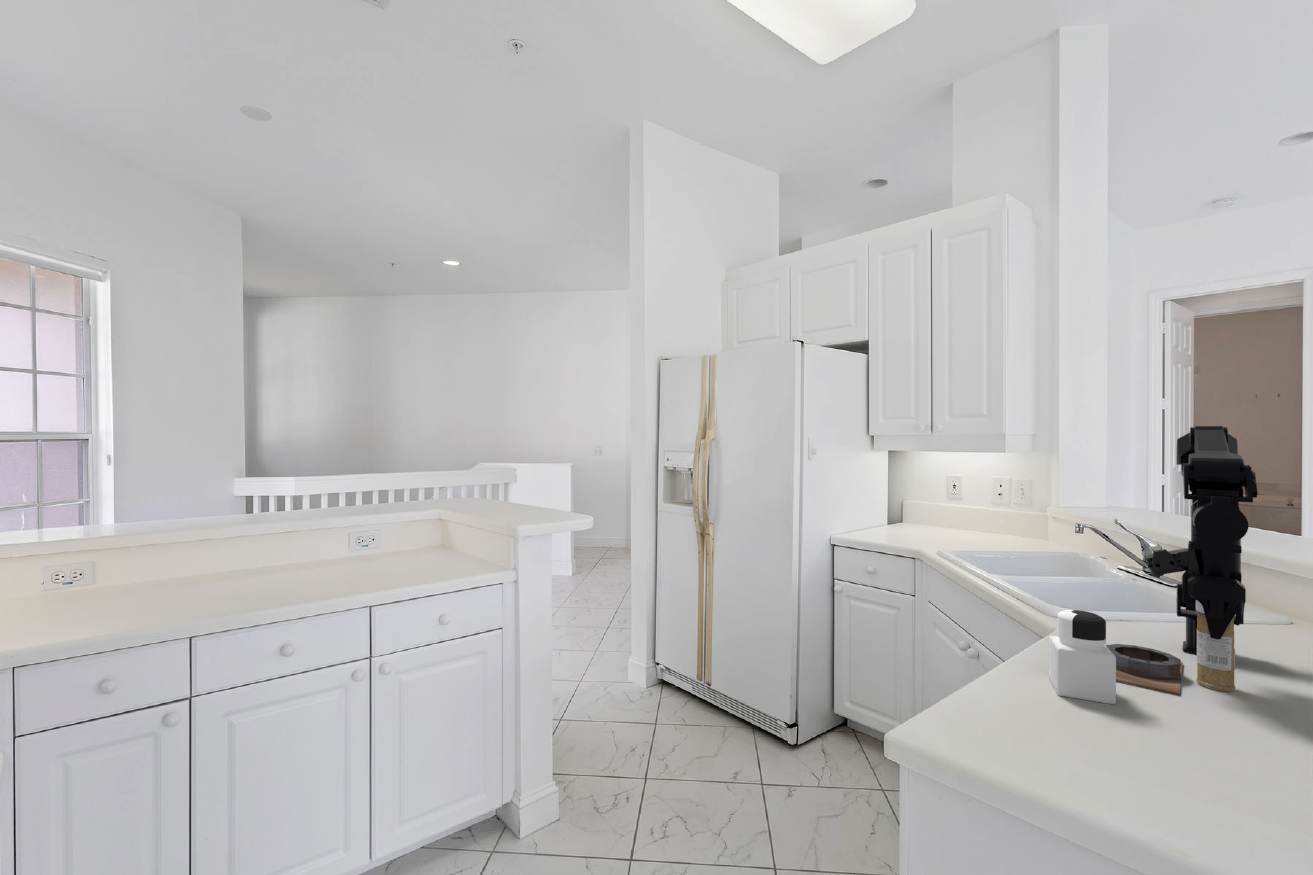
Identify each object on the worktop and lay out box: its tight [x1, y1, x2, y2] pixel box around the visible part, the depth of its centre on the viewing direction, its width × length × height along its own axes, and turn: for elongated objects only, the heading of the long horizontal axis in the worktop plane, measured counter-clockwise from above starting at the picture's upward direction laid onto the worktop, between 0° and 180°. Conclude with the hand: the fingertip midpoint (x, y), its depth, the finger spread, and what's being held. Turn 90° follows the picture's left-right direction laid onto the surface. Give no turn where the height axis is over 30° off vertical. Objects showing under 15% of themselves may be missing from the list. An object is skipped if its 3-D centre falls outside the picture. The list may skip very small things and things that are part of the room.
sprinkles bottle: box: [1196, 600, 1237, 692], centre depth 93 cm, size 5×5×14 cm
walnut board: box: [1116, 661, 1184, 697], centre depth 99 cm, size 18×10×1 cm, turn 137°
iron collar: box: [1105, 643, 1182, 680], centre depth 99 cm, size 10×10×2 cm
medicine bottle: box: [1048, 609, 1117, 705], centre depth 90 cm, size 7×7×12 cm
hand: (1215, 635), depth 93 cm, fingers closed on sprinkles bottle, 4 cm apart
